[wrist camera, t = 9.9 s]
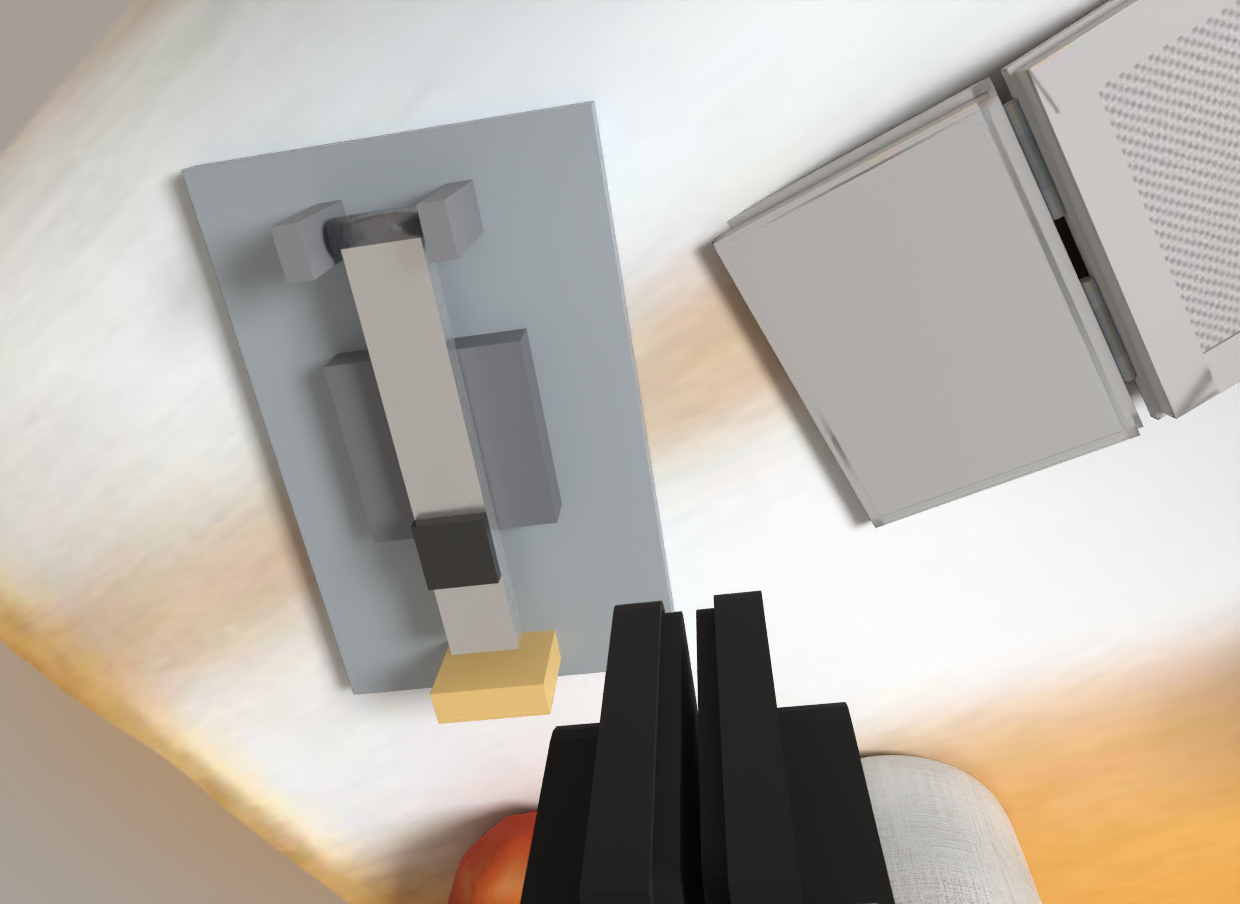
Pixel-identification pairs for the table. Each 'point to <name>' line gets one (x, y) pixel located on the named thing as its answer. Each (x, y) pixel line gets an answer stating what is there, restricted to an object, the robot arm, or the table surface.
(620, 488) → the clamp base
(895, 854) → the planter
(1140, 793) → the table surface
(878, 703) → the table surface
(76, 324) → the table surface
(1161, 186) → the gadget
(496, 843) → the tomato
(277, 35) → the table surface
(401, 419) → the clamp bar
